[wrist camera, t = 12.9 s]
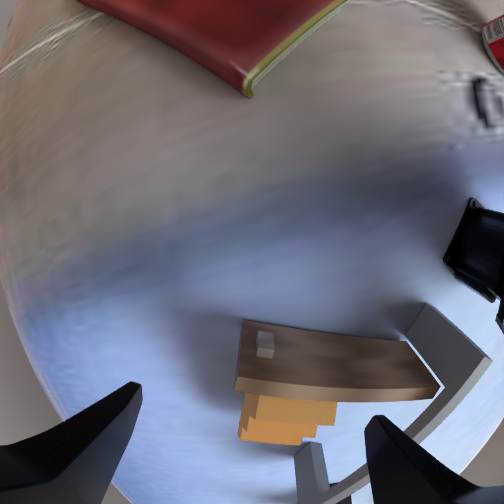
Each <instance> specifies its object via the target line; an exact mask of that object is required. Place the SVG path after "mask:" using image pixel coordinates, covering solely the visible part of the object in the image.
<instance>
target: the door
mask: <svg viewBox="0 0 504 504" xmlns="http://www.w3.org/2000/svg"><path fill="white" fill-rule="evenodd" d="M440 387H441V386H440V385H439V384H438V382H437V381H436V380H435V378H434V377H433V376H432V374H431V373H430V372H429V370H428V369H427V368H426V366H425V365H424V364H423V362H422V361H421V360H420V358H419V357H418V356H417V354H416V353H415V352H414V351H413V349H412V348H411V347H410V345H409V344H408V343H407V342H406V341H396V340H384V339H374V338H364V337H355V336H346V335H338V334H330V333H323V332H316V331H309V330H302V329H295V328H289V327H283V326H277V325H271V324H265V323H259V322H254V321H248V320H243V325H242V329H241V335H240V343H239V352H238V361H237V370H236V378H235V387H234V391H237V392H243V393H250V394H256V395H264V396H271V397H280V398H289V399H300V400H313V401H330V402H395V401H411V400H423V399H433V397H434V396H435V394H436V393H437V391H438V390H439V388H440Z"/></svg>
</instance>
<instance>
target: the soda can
mask: <svg viewBox="0 0 504 504" xmlns="http://www.w3.org/2000/svg"><path fill="white" fill-rule="evenodd" d="M482 40H483V44H484V46H485V49H486V51H487V53H488V55H489V57H490V58H491V60H492V62H493V63H494V64H495V66H496V67H497V68H498V69H499V70H500V71H501V72H502V73H503V74H504V14H503V15H501V16H499V17H497V18H495V19H493V20H492V21H490V22H488V23H486V24H485V25H484V26H483V28H482Z"/></svg>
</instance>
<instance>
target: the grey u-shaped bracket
mask: <svg viewBox="0 0 504 504" xmlns="http://www.w3.org/2000/svg"><path fill="white" fill-rule="evenodd" d="M405 336H406V338H407V339H408V340H409V341H410V343H411V344H412V345H413V346H414V348H415V349H416V350H417V351H418V353H419V354H420V355H421V356H422V358H423V359H424V360H425V361H426V363H427V364H428V365H429V367H430V368H431V369H432V371H433V372H434V373H435V375H436V376H437V377H438V379H439V380H440V381H441V383H442V384H443V385H444V387H445V388H444V389H443V391H442V392H441V393H440V394H439V395H438V396H437V398H436V399H435V400H434V401H433V402H432V403H431V404H430V405H429V406H428V407H427V409H426V410H425V411H424V412H423V413H422V414H421V415H420V416H419V417H418V418H417V419H416V420H415V421H414V422H413V423H412V424H411V425H410V426H409V427H408V428H407V429H406V430H405V431H403V432H404V433H405V434H407V435H408V436H409V437H410V438H411V439H413V440H414V441H415V442H416V443H417V444H420V443H421V442H422V441H423V440H424V439H425V438H426V437H427V436H428V435H429V434H431V433H432V432H433V431H434V430H435V429H436V428H437V427H438V426H439V425H440V424H441V423H442V422H443V421H444V420H445V419H446V418H447V417H448V415H449V414H450V413H451V412H452V411H453V410H454V409H455V408H456V407H457V406H458V405H459V403H460V402H461V401H462V400H463V399H464V398H465V396H466V395H467V394H468V393H469V392H470V390H471V389H472V388H473V387H474V386H475V384H476V383H477V382H478V380H479V379H480V378H481V377H482V375H483V374H484V373H485V371H486V370H487V368H488V367H489V366H490V364H491V363H492V360H491V359H490V358H489V357H488V356H487V355H486V354H485V353H484V352H483V351H482V350H481V349H480V348H479V347H478V346H477V345H476V344H475V343H474V342H473V341H472V340H471V339H470V338H469V337H467V336H466V335H465V334H464V333H463V332H462V331H461V330H460V329H459V328H458V327H457V326H455V325H454V324H453V323H452V322H451V321H450V320H449V319H448V318H446V317H445V316H444V315H443V314H442V313H441V312H440V311H438V310H437V309H436V308H434V307H433V306H431V305H429V304H428V303H426V304H425V306H424V307H423V309H422V310H421V312H420V314H419V315H418V317H417V318H416V320H415V321H414V323H413V324H412V326H411V327H410V329H409V330H408V331H407V333H406V334H405ZM294 464H295V475H296V485H297V497H298V504H336V503H337V502H339V501H341V500H343V499H344V498H346V497H348V496H349V495H351V494H353V493H354V492H356V491H357V490H359V489H361V488H362V487H364V486H365V485H367V484H368V483H370V477H369V472H368V466H367V463H366V464H364V465H363V466H362V467H360V468H359V469H358V470H356V471H355V472H354V473H352V474H351V475H349V476H348V477H346V478H345V479H344V480H342V481H341V482H339V483H338V484H336V485H335V486H333V487H331V488H330V486H329V481H328V475H327V470H326V465H325V459H324V454H323V449H322V444H320V443H314V442H309V443H308V444H307V445H306V446H305V447H304V448H303V449H301V450H300V451H299V452H298V453H297V454H295V455H294Z"/></svg>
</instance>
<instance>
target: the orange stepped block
mask: <svg viewBox="0 0 504 504" xmlns="http://www.w3.org/2000/svg"><path fill="white" fill-rule="evenodd" d="M336 408H337V402H330V401H313V400H300V399H289V398H280V397H271V396H264V395H256V394H250V393H245V395H244V401H243V406H242V412H241V418H240V423H239V429H238V436H239V438H240V440H244V441H252V442H261V443H272V444H285V445H301V441H302V437H309V438H315V436H316V430H317V425H332V426H334V422H335V415H336Z"/></svg>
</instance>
